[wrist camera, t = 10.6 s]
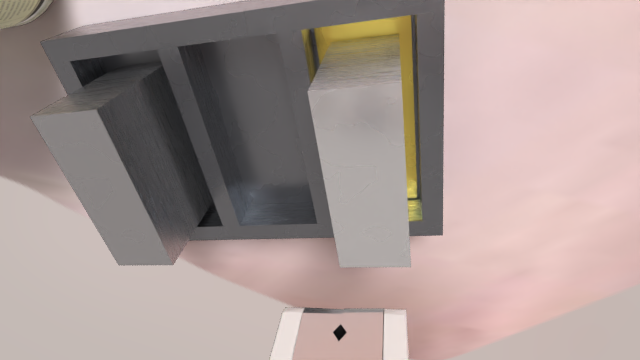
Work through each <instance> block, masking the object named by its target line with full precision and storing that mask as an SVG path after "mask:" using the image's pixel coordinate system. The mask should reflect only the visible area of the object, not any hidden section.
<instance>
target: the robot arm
mask: <svg viewBox="0 0 640 360" xmlns="http://www.w3.org/2000/svg"><path fill="white" fill-rule="evenodd" d="M269 360H409V346H408V330H407V315H406V309H385V310H384V309H323V308H298V307H286V308H285V309H284V311H283V313H282V315H281V319H280V322H279V326H278V330H277V333H276V337H275V340H274V344H273V348H272V351H271V355H270V358H269Z"/></svg>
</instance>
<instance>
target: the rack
mask: <svg viewBox="0 0 640 360" xmlns="http://www.w3.org/2000/svg"><path fill="white" fill-rule="evenodd" d="M392 34H399V44H400V63H401V81H402V101H403V120H404V140H405V159H406V179H407V199H408V218H409V236H432V235H443V120H444V0H247V1H240V2H234V3H228V4H221V5H215V6H208V7H202V8H196V9H189V10H183V11H176V12H170V13H164V14H157V15H151V16H144V17H138V18H132V19H125V20H119V21H112V22H106V23H100V24H93V25H87V26H82V27H79V28H76V29H73V30H71V31H68V32H65V33H63V34H60V35H57V36H54V37H52V38H49V39H46V40H44V41H41V42H40V43H41V45H42V47H43V48H44V50H45V52H46V54H47V56H48V58H49V60H50V62H51V64H52V66H53V67H54V69H55V71H56V73H57V75H58V77H59V79H60V81H61V83H62V85H63V87H64V88H65V90H66V92H67V94H68V95H67V96H65V97H64V98H62V99H60V100H58V101H57V102H55V103H53V104H51V105H49V106H48V107H46V108H44V109H42V110H41V111H39V112H37V113H35V114H33V115H32V116H30V118H31V120H32V121H33V123H34V125H35V126H36V128H37V130H38V131H39V133H40V135H41V136H42V138H43V140H44V141H45V143H46V145H47V146H48V148H49V150H50V151H51V153H52V155H53V156H54V158H55V160H56V161H57V163H58V165H59V166H60V168H61V170H62V171H63V173H64V175H65V177H66V178H67V180H68V182H69V183H70V185H71V187H72V188H73V190H74V192H75V193H76V195H77V197H78V198H79V200H80V202H81V203H82V205H83V207H84V208H85V210H86V212H87V213H88V215H89V217H90V218H91V220H92V222H93V223H94V225H95V227H96V228H97V230H98V232H99V233H100V235H101V237H102V238H103V240H104V242H105V243H106V245H107V247H108V248H109V250H110V252H111V253H112V255H113V257H114V258H115V260H116V261H117V263H118V265H173V264H174V263H175V261H176V260H177V258H178V257H179V255H180V253H181V252H182V250H183V248H184V247H185V245H186V244H187V242H188V240H231V239H282V238H332V237H334V233H333V227H332V222H331V216H330V211H329V205H328V200H327V195H326V189H325V184H324V178H323V173H322V168H321V162H320V157H319V151H318V146H317V140H316V135H315V130H314V124H313V119H312V113H311V108H310V103H309V97H308V90H309V88H310V85H311V83H312V81H313V79H314V77H315V75H316V73H317V71H318V68H319V66H320V64H321V62H322V60H323V58H324V56H325V54H326V52H327V49H328V47H329V45H330V43H331V42H337V41H344V40H352V39H360V38H368V37H376V36H384V35H392Z"/></svg>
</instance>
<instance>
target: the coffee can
mask: <svg viewBox="0 0 640 360" xmlns="http://www.w3.org/2000/svg"><path fill="white" fill-rule="evenodd" d="M52 1H53V0H0V29H4V28H8V27H14V26H20V25H23V24H26V23H28V22H31V21H33V20H35V19H36V18H37V17H39V16H40V15H42V14H43V13H44V12H45V11H46V10H47V8H48V7H49V5H50V4H51V3H52Z"/></svg>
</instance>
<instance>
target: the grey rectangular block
mask: <svg viewBox="0 0 640 360" xmlns="http://www.w3.org/2000/svg"><path fill="white" fill-rule="evenodd" d="M308 97H309V103H310V108H311V113H312V119H313V124H314V130H315V135H316V140H317V146H318V151H319V157H320V162H321V168H322V173H323V178H324V184H325V189H326V195H327V200H328V205H329V211H330V216H331V222H332V227H333V233H334V238H335V243H336V249H337V254H338V260H339V265H340V267H411V257H410V238H409V218H408V199H407V179H406V159H405V140H404V120H403V101H402V81H401V63H400V44H399V34H392V35H384V36H376V37H368V38H360V39H352V40H344V41H337V42H331V43H330V45H329V47H328V49H327V52H326V54H325V56H324V58H323V60H322V62H321V64H320V66H319V68H318V71H317V73H316V75H315V77H314V79H313V81H312V83H311V85H310V88H309V90H308Z"/></svg>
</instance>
